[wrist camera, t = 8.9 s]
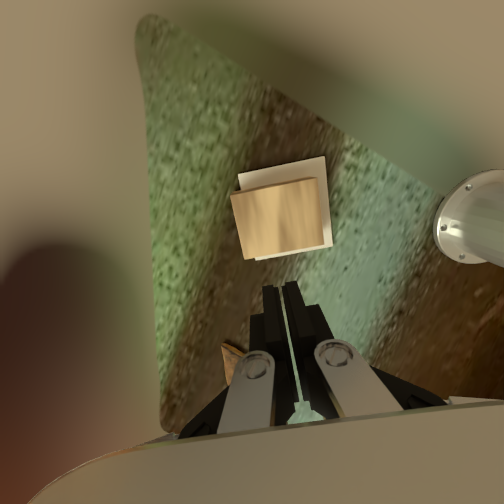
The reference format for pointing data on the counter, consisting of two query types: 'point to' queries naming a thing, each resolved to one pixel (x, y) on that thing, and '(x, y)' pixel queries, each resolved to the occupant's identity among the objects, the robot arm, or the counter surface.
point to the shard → (230, 360)
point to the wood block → (278, 217)
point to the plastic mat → (290, 172)
